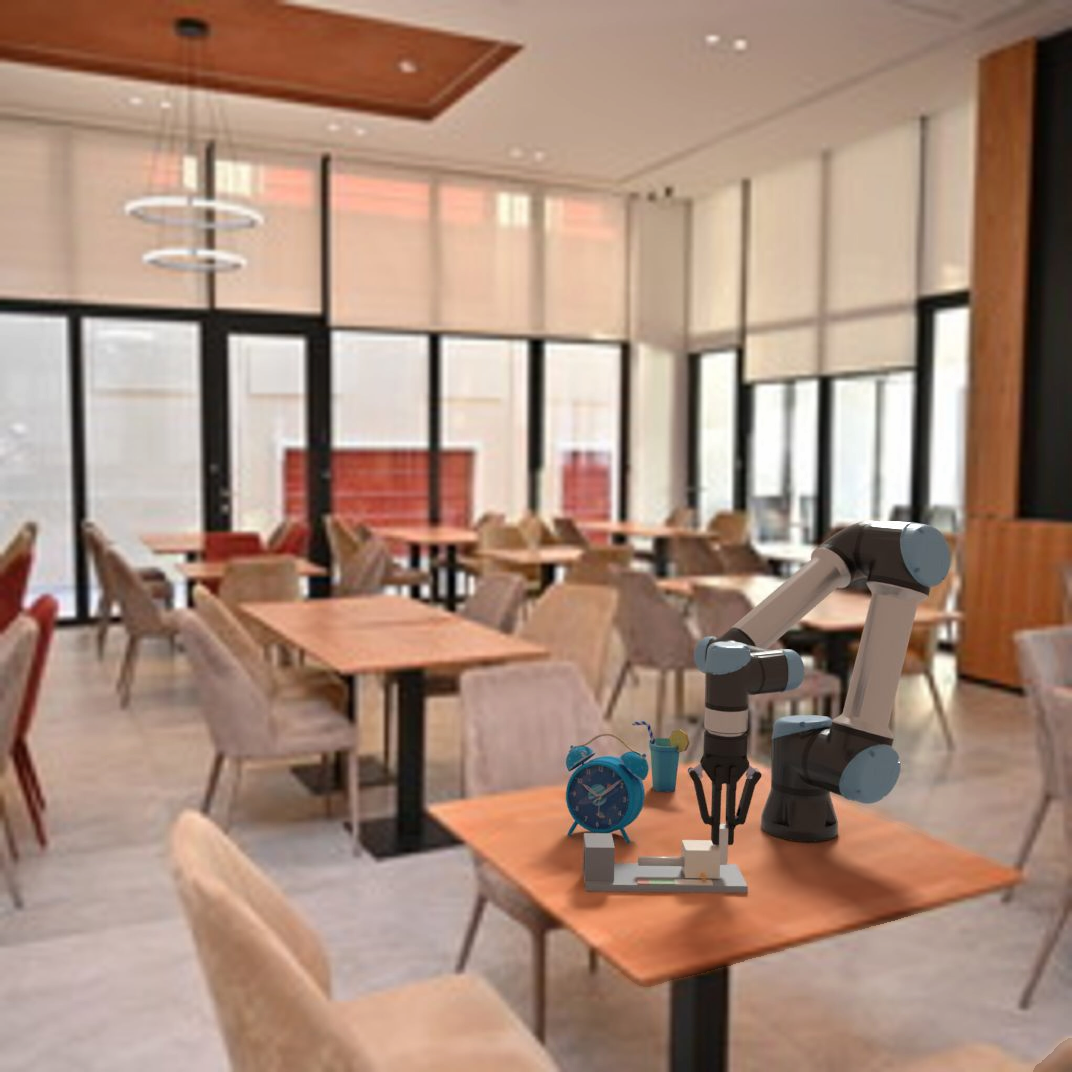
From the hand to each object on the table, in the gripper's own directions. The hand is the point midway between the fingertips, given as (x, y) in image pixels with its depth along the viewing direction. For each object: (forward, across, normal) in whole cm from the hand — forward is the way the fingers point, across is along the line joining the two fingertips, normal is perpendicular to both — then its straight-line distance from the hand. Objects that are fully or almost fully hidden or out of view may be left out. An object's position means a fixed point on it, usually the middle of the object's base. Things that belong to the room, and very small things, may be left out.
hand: (721, 862), depth 189 cm
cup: (+4, +4, -53) cm, 53 cm away
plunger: (+2, +8, +1) cm, 8 cm away
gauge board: (+4, +10, 0) cm, 11 cm away
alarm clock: (+4, +19, -22) cm, 30 cm away
